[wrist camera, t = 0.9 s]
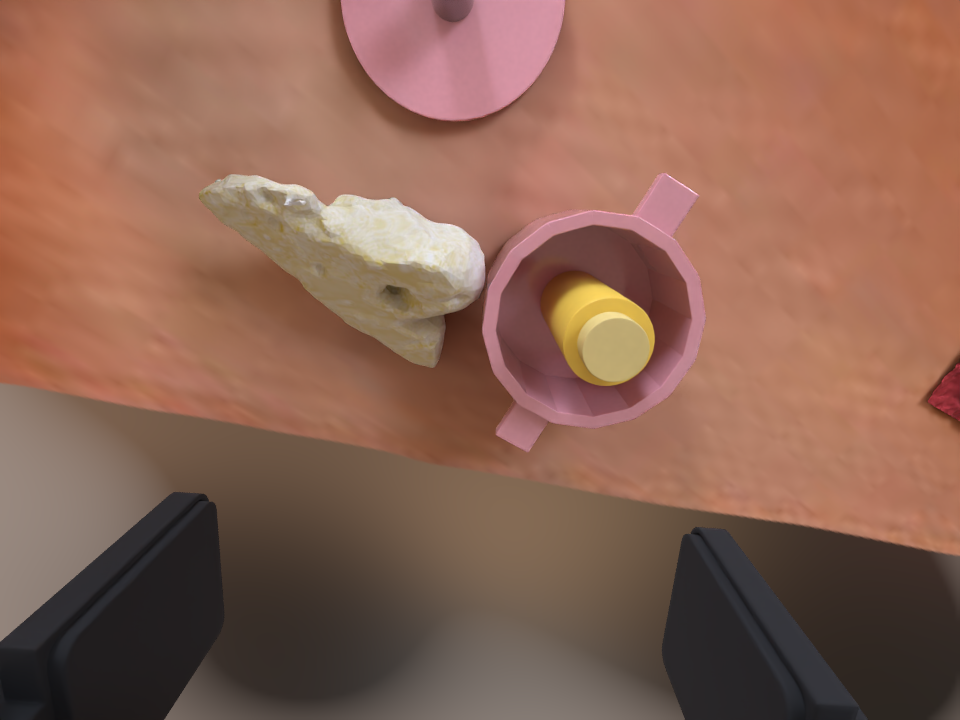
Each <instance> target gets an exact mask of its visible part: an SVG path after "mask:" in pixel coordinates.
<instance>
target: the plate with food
mask: <svg viewBox="0 0 960 720" xmlns="http://www.w3.org/2000/svg"><path fill="white" fill-rule="evenodd" d="M928 403H930V404H931V405H933V406H934V407H936V408H938V409H940V410H942V411H944V412H945V413H947V414H949V415H951V416H952V417H954V418H955V419H957V420H959V421H960V363H958V364H956V367H955V369H954V370H952V371H951V372H949V373H948V374H947V375H946V376H945V377H944V378H943V380H942V383H941V384H940V385H939V386H938V387H937V388H936V389H935V390H934V392H933V393H932V396H931V397H930V398H929V399H928Z"/></svg>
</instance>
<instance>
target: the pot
mask: <svg viewBox="0 0 960 720" xmlns="http://www.w3.org/2000/svg"><path fill="white" fill-rule="evenodd" d="M698 197H699V195H698V194H697V193H695V192H694V191H692V190H691V189H689V188H688V187H686V186H685V185H683V184H681V183H680V182H678V181H677V180H675V179H674V178H672V177H671V176H669V175H668V174H666V173H660V174H658V176H657V177H656V179H655V180H654V182H653V183H652V185H651V187H650V188H649V190H648V191H647V193H646V194H645V196H644V198H643V199H642V201H641V202H640V204H639V205H638V207H637V209H636V210H635V212H634V213H633V215H626V214H619V213H612V212H605V211H598V210H567V211H564V212H560V213H556V214H552V215H549V216H545V217H542V218H538V219H536V220H534V221H532V222H531V223H530V224H529V225H527V226H526V227H524V228H523V229H521V230H520V231H519V232H518V233H516V234H515V235H514V236H513V237H512V238H510V239H509V240H508V241H507V242H506V243H505V244H504V246H503V248H502V249H501V251H500V253H499V254H498V256H497V257H496V259H495V261H494V263H493V265H492V267H491V268H490V270H489V272H488V274H487V280H486V287H485V294H484V302H483V312H482V335H483V338H484V342H485V346H486V349H487V353H488V357H489V361H490V364H491V368H492V371H493V373H494V375H495V376H496V377H497V378H498V380H499V381H500V382H501V383H502V385H503V386H504V387H505V389H506V390H507V391H508V392H509V394H510V395H511V396H512V397H513V399H514V401H513V403H512V404H511V406H510V407H509V409H508V410H507V412H506V414H505V415H504V417H503V418H502V420H501V421H500V423H499V425H498V426H497V428H496V436H498V437H500V438H502V439H503V440H505V441H507V442H509V443H511V444H513V445H514V446H516V447H518V448H520V449H522V450H524V451H525V452H529V451H530V449H531V448H532V446H533V445H534V443H535V442H536V440H537V439H538V437H539V436H540V434H541V433H542V431H543V430H544V428H545V427H546V425H547V424H548V422H551V423H554V424H561V425H569V426H576V427H584V428H592V429H593V428H594V429H595V428H600V427H604V426H608V425H612V424H617V423H621V422H625V421H629V420H633V419H636V418H637V417H639V416H640V415H642V414H643V413H645V412H646V411H648V410H649V409H651V408H652V407H654V406H655V405H657V404H658V403H660V402H661V401H663V400H664V399H666V398H667V397H669V396H670V395H671V394H672V392H673V391H674V389H675V388H676V387H677V385H678V384H679V383H680V381H681V380H682V378H683V377H684V376H685V374H686V373H687V371H688V370H689V369H690V367H691V366H692V365H693V363H694V362H695V360H696V356H697V352H698V349H699V345H700V341H701V337H702V333H703V329H704V325H705V321H706V316H705V309H704V302H703V296H702V289H701V283H700V277H699V275H698V273H697V272H696V270H695V269H694V267H693V265H692V264H691V262H690V261H689V259H688V258H687V256H686V255H685V253H684V252H683V250H682V249H681V247H680V245H679V244H678V242H677V241H676V240H675V239H674V238H672V236H673V235H674V233H675V232H676V230H677V229H678V227H679V226H680V224H681V223H682V221H683V220H684V218H685V217H686V215H687V214H688V212H689V211H690V209H691V208H692V206H693V205H694V203H695V202H696V200H697V198H698ZM567 271H582V272H585V273H588V274H590V275H591V276H593V277H595V278H596V279H598V280H599V281H601V282H602V283H604V284H605V285H607V286H609V287H610V288H612V289H613V290H615V291H616V292H618V293H619V294H621V295H623V296H624V297H626V298H627V299H629V300H630V301H632V302H633V303H635V304H636V305H638V306H639V307H640V308H642V309H643V310H644V311H645V313H646V314H647V315H648V317H649V319H650V320H651V323H652V325H653V329H654V335H655V343H654V349H653V352H652V355H651V357H650V360H649V361H648V363H647V365H646V366H645V367H644V368H643V370H642V371H641V372H640V373H639V374H637V375H636V376H635V377H633V378H632V379H630V380H628V381H626V382H624V383H621V384H618V385H612V386H600V385H595V384H591V383H589V382H586V381H584V380H583V379H581V378H580V377H578V376H577V375H576V374H575V373H574V372H573V371H572V370H571V368H570V367H569V365H568V363H567V361H566V360H565V358H564V356H563V354H562V352H561V350H560V348H559V346H558V344H557V342H556V341H555V339H554V337H553V335H552V333H551V331H550V329H549V327H548V325H547V323H546V322H545V320H544V318H543V315H542V312H541V297H542V293H543V291H544V289H545V287H546V286H547V284H548V283H549V282H550V281H551V280H552V279H553V278H554V277H556V276H557V275H559V274H561V273H564V272H567Z"/></svg>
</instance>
